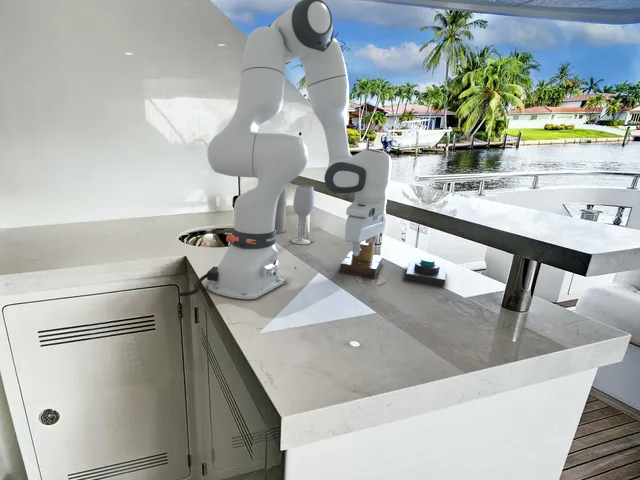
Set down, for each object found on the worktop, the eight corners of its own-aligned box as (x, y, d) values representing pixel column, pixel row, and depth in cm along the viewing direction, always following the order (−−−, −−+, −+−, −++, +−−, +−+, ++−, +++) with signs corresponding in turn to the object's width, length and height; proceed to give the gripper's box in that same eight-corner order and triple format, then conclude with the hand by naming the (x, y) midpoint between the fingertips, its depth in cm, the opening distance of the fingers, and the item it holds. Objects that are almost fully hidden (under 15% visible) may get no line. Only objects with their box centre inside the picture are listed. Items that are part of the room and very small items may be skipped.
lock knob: (351, 257, 118) (353, 241, 116) (354, 256, 119) (356, 240, 117) (370, 262, 114) (372, 245, 112) (373, 260, 115) (375, 244, 114)
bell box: (443, 287, 105) (446, 273, 103) (405, 280, 109) (407, 267, 107) (443, 273, 115) (446, 261, 113) (408, 268, 119) (410, 256, 118)
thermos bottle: (261, 230, 160) (264, 162, 151) (272, 227, 166) (276, 161, 157) (277, 234, 156) (281, 163, 146) (288, 230, 161) (292, 162, 152)
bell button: (433, 268, 108) (435, 262, 108) (420, 266, 110) (421, 260, 109) (434, 264, 111) (435, 259, 111) (420, 262, 113) (421, 257, 112)
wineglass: (312, 244, 142) (317, 188, 135) (291, 244, 142) (295, 187, 135) (309, 239, 149) (313, 185, 142) (289, 238, 149) (293, 184, 142)
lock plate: (374, 278, 110) (376, 268, 108) (339, 272, 114) (340, 262, 113) (381, 265, 121) (382, 255, 120) (349, 259, 126) (350, 250, 125)
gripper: (373, 201, 120) (368, 243, 125) (343, 209, 106) (338, 256, 111) (393, 204, 117) (387, 247, 121) (365, 212, 102) (358, 261, 107)
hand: (363, 251), depth 116 cm, fingers open, 8 cm apart
